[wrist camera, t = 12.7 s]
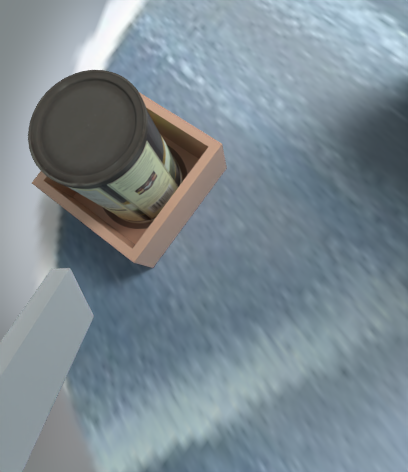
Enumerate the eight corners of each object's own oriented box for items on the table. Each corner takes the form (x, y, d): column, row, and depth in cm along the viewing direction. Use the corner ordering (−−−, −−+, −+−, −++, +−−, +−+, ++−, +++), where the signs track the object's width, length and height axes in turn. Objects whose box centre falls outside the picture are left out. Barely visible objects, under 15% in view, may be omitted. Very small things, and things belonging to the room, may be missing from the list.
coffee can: (117, 137, 41) (52, 59, 28) (192, 154, 40) (162, 80, 26) (91, 212, 40) (8, 169, 26) (167, 233, 38) (121, 199, 24)
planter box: (134, 109, 42) (114, 77, 36) (226, 168, 39) (222, 144, 33) (64, 200, 41) (31, 182, 35) (153, 268, 38) (133, 262, 32)
